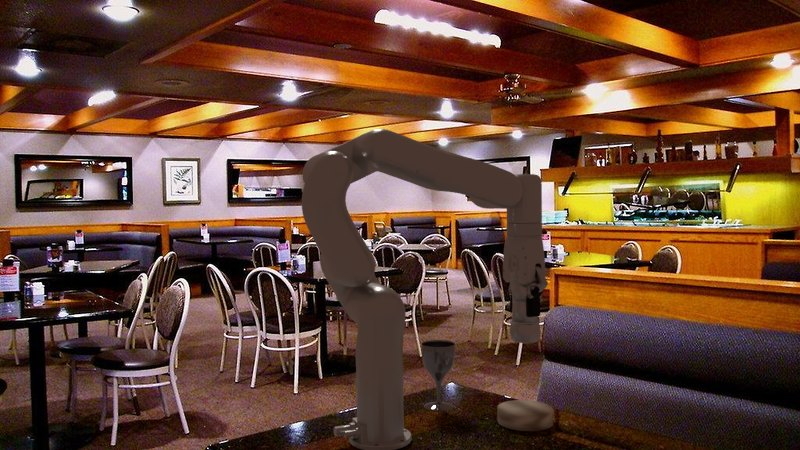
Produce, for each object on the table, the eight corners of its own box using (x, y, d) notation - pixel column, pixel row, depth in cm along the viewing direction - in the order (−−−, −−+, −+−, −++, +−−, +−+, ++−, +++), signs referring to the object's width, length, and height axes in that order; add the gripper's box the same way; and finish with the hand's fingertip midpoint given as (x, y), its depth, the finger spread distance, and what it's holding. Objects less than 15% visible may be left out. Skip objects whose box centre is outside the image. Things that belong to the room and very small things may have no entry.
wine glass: (415, 407, 157) (414, 344, 157) (434, 399, 164) (433, 338, 163) (443, 413, 152) (442, 348, 152) (462, 405, 159) (461, 342, 158)
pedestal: (517, 434, 139) (517, 420, 138) (487, 417, 150) (487, 404, 149) (564, 426, 143) (564, 412, 143) (532, 410, 154) (531, 397, 154)
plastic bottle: (532, 347, 141) (532, 253, 140) (504, 343, 145) (504, 251, 144) (545, 342, 146) (546, 251, 145) (517, 338, 150) (518, 249, 149)
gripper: (488, 230, 151) (489, 310, 152) (533, 233, 136) (533, 322, 136) (516, 229, 154) (517, 307, 155) (563, 232, 139) (563, 319, 139)
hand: (524, 313), depth 146 cm, fingers closed on plastic bottle, 5 cm apart
